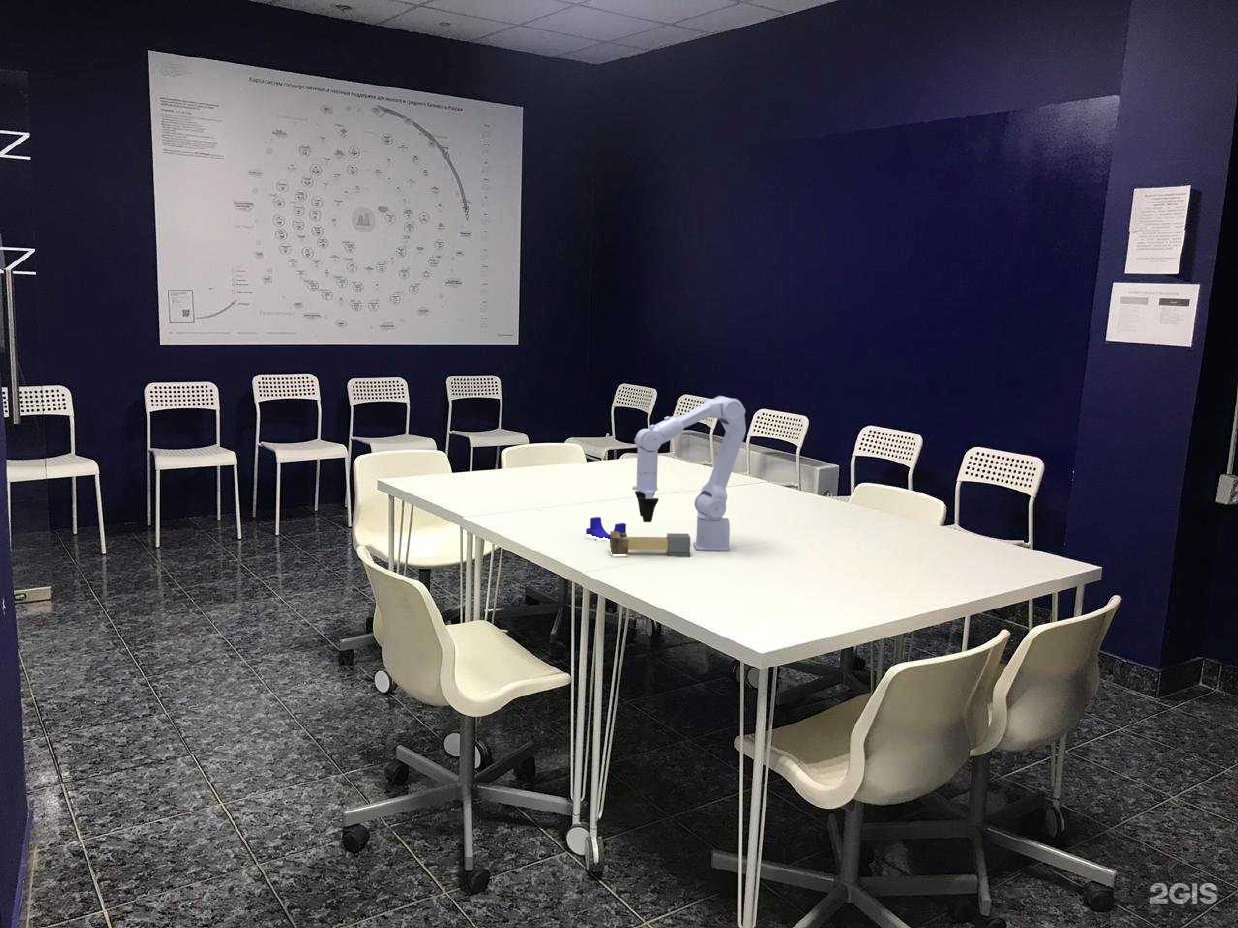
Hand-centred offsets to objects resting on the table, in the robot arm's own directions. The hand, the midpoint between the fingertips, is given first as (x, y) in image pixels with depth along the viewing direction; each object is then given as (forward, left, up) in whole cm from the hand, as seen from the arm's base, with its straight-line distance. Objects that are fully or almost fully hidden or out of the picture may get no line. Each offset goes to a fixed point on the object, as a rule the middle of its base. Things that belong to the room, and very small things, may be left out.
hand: (645, 519), depth 283 cm
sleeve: (-9, +3, -9) cm, 13 cm away
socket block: (+8, +3, -9) cm, 12 cm away
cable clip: (+10, -13, -10) cm, 19 cm away
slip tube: (0, +3, -8) cm, 9 cm away
